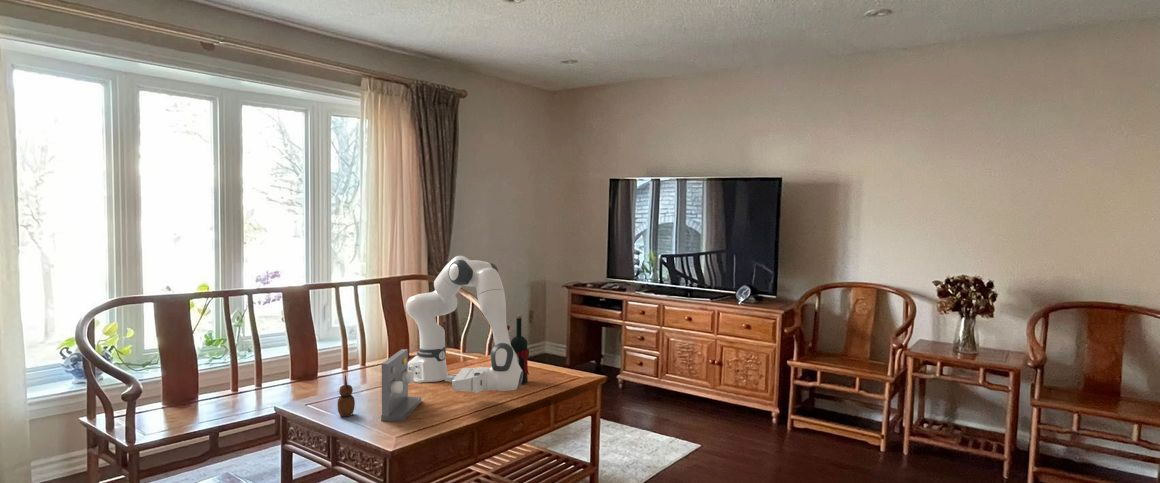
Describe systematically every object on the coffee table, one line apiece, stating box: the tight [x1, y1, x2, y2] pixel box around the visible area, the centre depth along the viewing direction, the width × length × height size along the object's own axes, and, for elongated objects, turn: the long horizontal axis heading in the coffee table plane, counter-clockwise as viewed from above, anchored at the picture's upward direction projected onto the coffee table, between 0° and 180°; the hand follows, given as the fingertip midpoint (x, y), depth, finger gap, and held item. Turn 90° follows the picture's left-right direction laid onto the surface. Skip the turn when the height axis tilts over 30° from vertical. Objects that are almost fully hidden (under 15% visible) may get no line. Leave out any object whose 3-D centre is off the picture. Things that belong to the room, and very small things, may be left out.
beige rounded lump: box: [402, 372, 414, 384], centre depth 257 cm, size 3×4×4 cm
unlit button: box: [391, 381, 403, 394], centre depth 243 cm, size 3×4×4 cm
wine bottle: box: [510, 314, 530, 386], centre depth 291 cm, size 8×10×30 cm
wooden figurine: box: [337, 373, 356, 418], centre depth 244 cm, size 7×6×15 cm
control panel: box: [380, 348, 422, 422], centre depth 250 cm, size 8×24×21 cm, turn 178°
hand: (445, 378), depth 256 cm, fingers closed
